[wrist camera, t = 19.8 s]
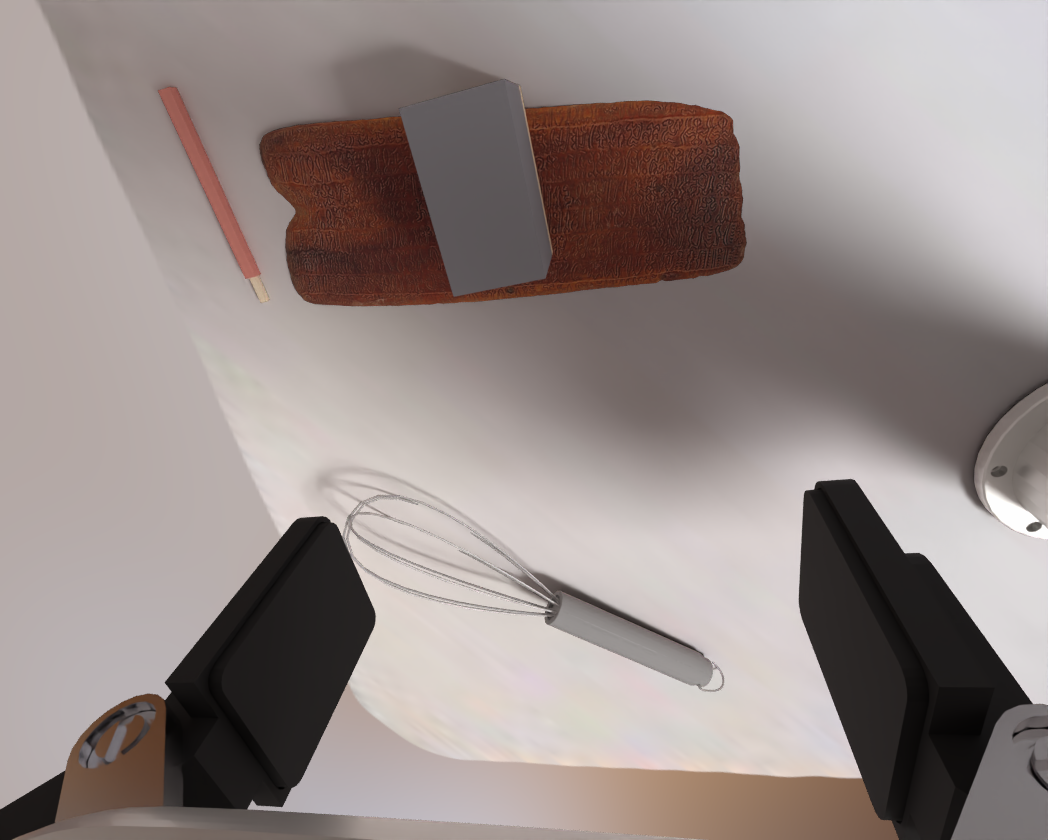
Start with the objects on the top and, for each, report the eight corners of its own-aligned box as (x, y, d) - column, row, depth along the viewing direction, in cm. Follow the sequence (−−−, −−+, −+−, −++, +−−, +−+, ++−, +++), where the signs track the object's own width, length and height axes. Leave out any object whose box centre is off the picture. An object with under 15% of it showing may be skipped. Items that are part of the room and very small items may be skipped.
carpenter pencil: (177, 87, 29) (169, 87, 28) (273, 298, 34) (267, 302, 33) (166, 91, 29) (157, 90, 28) (263, 300, 34) (257, 304, 33)
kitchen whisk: (698, 686, 48) (712, 759, 42) (352, 513, 42) (316, 571, 37) (746, 649, 45) (767, 723, 40) (380, 459, 40) (346, 514, 34)
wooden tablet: (306, 305, 35) (294, 313, 33) (258, 128, 30) (241, 128, 28) (739, 289, 31) (747, 298, 30) (766, 86, 26) (776, 85, 25)
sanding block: (520, 85, 26) (504, 78, 21) (552, 252, 30) (545, 278, 25) (432, 109, 27) (398, 108, 22) (475, 268, 31) (453, 296, 26)
